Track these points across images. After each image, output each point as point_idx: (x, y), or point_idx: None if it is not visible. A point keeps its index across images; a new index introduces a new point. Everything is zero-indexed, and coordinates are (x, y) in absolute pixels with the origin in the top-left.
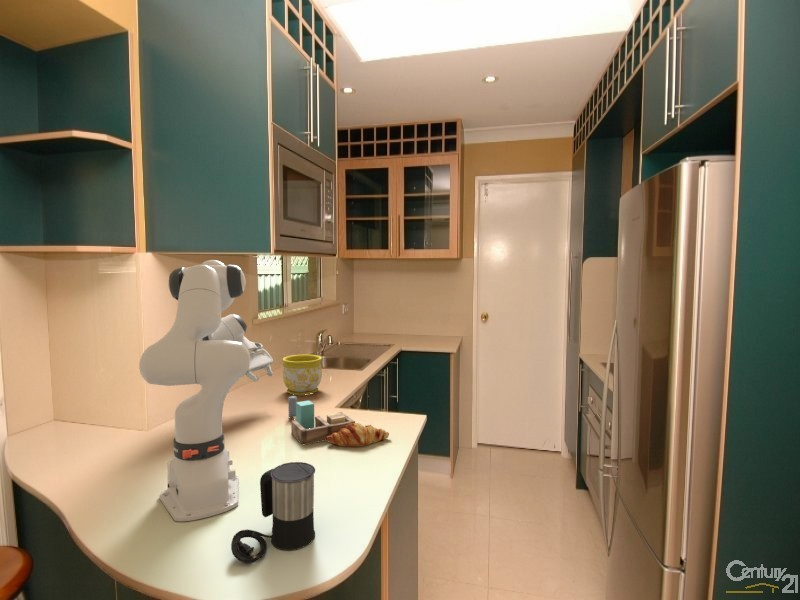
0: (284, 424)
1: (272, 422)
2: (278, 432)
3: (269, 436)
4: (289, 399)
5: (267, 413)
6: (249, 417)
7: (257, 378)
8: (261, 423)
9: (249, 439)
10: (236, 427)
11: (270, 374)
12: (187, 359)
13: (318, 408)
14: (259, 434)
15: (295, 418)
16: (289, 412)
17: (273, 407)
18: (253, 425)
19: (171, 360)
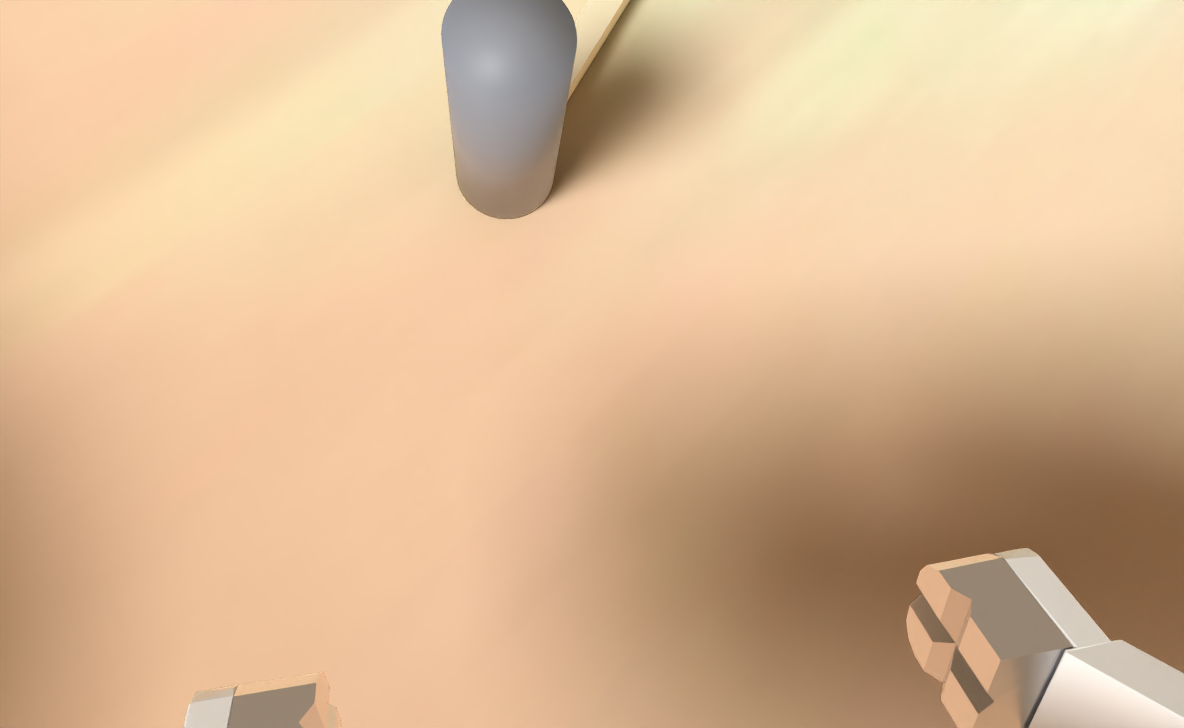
0: (723, 114)
1: (743, 267)
2: (914, 27)
3: (1025, 36)
4: (574, 58)
5: (531, 554)
6: (755, 640)
7: (990, 564)
8: (827, 351)
9: (1169, 144)
10: (1050, 500)
11: (323, 703)
12: None
13: (65, 105)
14: (1044, 148)
15: (583, 65)
16: (557, 152)
17: None
18: (914, 383)
19: None
